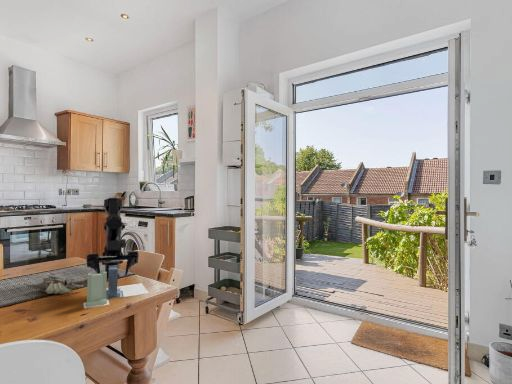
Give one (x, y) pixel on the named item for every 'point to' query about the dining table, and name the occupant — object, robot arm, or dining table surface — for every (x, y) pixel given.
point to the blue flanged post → (113, 283)
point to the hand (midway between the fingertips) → (113, 277)
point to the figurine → (56, 285)
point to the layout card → (125, 292)
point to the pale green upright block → (96, 289)
